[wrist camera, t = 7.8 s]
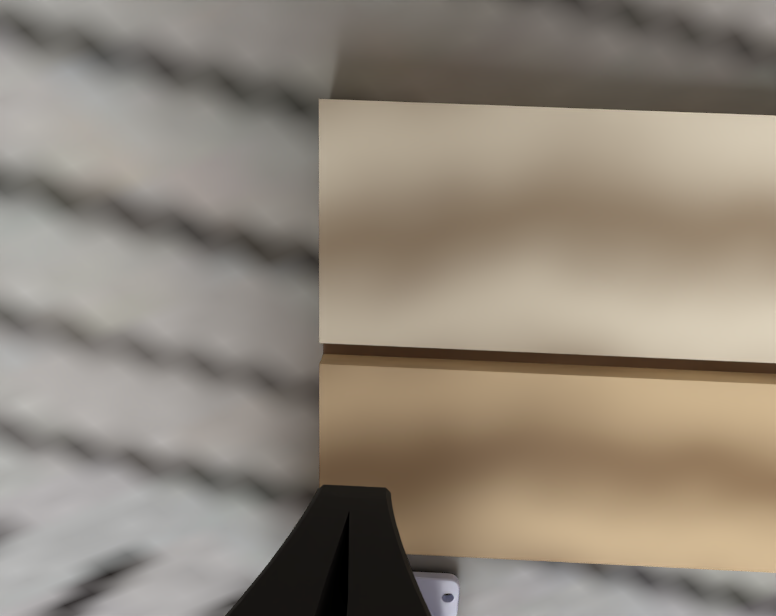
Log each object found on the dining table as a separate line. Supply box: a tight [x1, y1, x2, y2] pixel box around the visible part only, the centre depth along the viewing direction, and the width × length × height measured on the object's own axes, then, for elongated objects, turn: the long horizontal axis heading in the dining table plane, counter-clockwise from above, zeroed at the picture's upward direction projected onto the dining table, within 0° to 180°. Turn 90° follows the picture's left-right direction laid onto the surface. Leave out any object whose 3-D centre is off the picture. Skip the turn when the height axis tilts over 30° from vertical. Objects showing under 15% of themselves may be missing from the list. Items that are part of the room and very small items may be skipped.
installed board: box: [319, 343, 776, 573], centre depth 20 cm, size 9×24×2 cm, turn 88°
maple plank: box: [319, 99, 776, 363], centre depth 18 cm, size 8×24×2 cm, turn 88°
